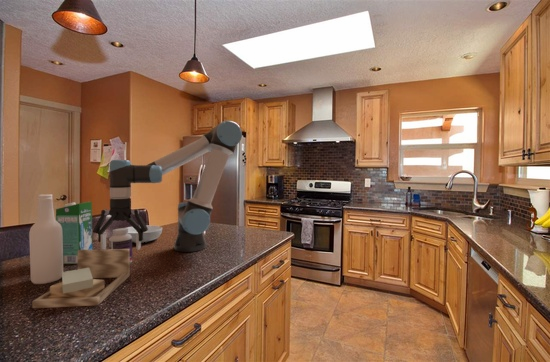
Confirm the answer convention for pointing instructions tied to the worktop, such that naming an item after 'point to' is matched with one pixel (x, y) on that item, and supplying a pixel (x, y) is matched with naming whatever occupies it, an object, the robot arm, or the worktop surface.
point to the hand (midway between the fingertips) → (121, 249)
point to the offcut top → (76, 280)
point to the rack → (94, 276)
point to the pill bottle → (121, 240)
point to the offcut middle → (97, 286)
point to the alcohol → (46, 244)
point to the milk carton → (75, 229)
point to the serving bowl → (146, 233)
